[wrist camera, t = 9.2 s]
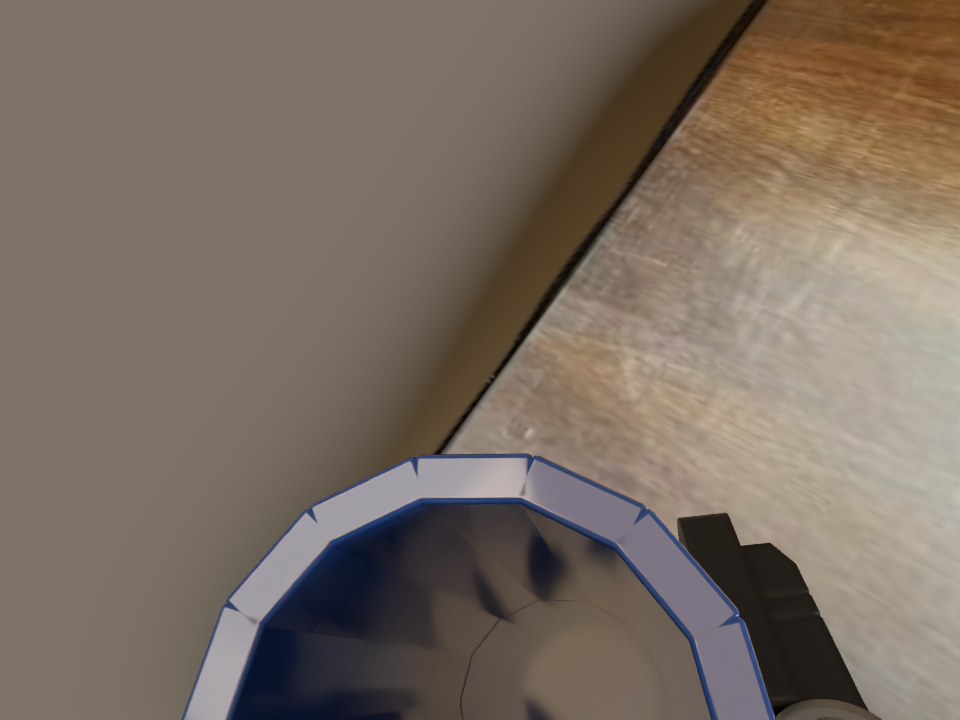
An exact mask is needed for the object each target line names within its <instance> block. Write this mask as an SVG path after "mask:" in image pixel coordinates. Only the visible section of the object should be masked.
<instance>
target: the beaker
mask: <svg viewBox="0 0 960 720" xmlns="http://www.w3.org/2000/svg"><path fill="white" fill-rule="evenodd" d="M227 603H228V604H225V605H224V606H223V607H222V609H221V611H220V614H219V617H218V620H217V622H216V625H215V628H214V631H213V633H212V636H211V639H210V642H209V645H208V647H207V650H206V653H205V656H204V659H203V661H202V664H201V667H200V669H199V672H198V675H197V678H196V680H195V683H194V686H193V689H192V691H191V694H190V697H189V700H188V702H187V705H186V708H185V711H184V713H183V716H182V719H181V720H776V719H775V715H774V712H773V709H772V706H771V703H770V699H769V696H768V693H767V690H766V687H765V684H764V680H763V677H762V674H761V671H760V668H759V664H758V661H757V658H756V655H755V652H754V649H753V645H752V642H751V639H750V636H749V633H748V630H747V626H746V623H745V622H744V620H743V619H742V618H740V617H739V616H740V613H739V611H738V609H737V608H736V606H735V605H734V604H733V603H732V602H731V601H730V599H729V598H728V597H727V596H726V595H725V594H724V593H723V591H722V590H721V589H720V588H719V587H718V586H717V584H716V583H715V582H714V581H713V580H712V579H711V578H710V576H709V575H708V574H707V573H706V572H705V571H704V569H703V568H702V567H701V566H700V565H699V564H698V562H697V561H696V560H695V559H694V558H693V557H692V556H691V554H690V553H689V552H688V551H687V550H686V549H685V547H684V546H683V545H682V544H681V543H680V542H679V540H678V539H677V538H676V537H675V536H674V535H673V534H672V532H671V531H670V530H669V529H668V528H667V527H666V525H665V524H664V523H663V522H662V521H661V520H660V518H659V517H658V516H657V515H656V514H655V513H654V512H653V511H652V510H650V509H647V510H646V506H645V505H644V504H643V503H641V502H638V501H636V500H634V499H632V498H630V497H628V496H625V495H623V494H621V493H619V492H617V491H614V490H612V489H610V488H608V487H606V486H604V485H601V484H599V483H597V482H595V481H593V480H591V479H588V478H586V477H584V476H582V475H580V474H578V473H575V472H573V471H571V470H569V469H567V468H565V467H562V466H560V465H558V464H556V463H554V462H551V461H549V460H547V459H545V458H543V457H541V456H534V457H532V455H530V454H527V453H525V454H443V455H420V456H417V457H416V458H415V457H410V458H408V459H406V460H404V461H402V462H400V463H397V464H395V465H393V466H391V467H389V468H387V469H385V470H383V471H381V472H379V473H376V474H375V475H372V476H370V477H368V478H366V479H364V480H362V481H360V482H358V483H356V484H353V485H351V486H349V487H347V488H345V489H343V490H341V491H339V492H337V493H335V494H333V495H331V496H329V497H326V498H324V499H322V500H320V501H318V502H316V503H314V504H313V505H311V506H310V509H306V510H305V511H303V512H302V514H301V515H300V516H299V517H298V518H297V519H296V520H295V522H294V523H293V524H292V525H291V526H290V527H289V528H288V529H287V531H286V532H285V533H284V534H283V535H282V536H281V538H280V539H279V540H278V541H277V542H276V543H275V544H274V545H273V547H272V548H271V549H270V550H269V551H268V552H267V553H266V555H265V556H264V557H263V558H262V559H261V560H260V562H259V563H258V564H257V565H256V566H255V567H254V568H253V569H252V571H251V572H250V573H249V574H248V575H247V576H246V578H245V579H244V580H243V581H242V582H241V583H240V584H239V585H238V586H237V588H236V589H235V590H234V591H233V592H232V593H231V595H230V596H229V597H228V599H227Z"/></svg>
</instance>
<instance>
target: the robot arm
mask: <svg viewBox="0 0 960 720" xmlns="http://www.w3.org/2000/svg"><path fill="white" fill-rule="evenodd" d="M677 525H678V536H679V542H680V543H681V544H682V545H683V546H684V547H685V549H686V550H687V551H688V552H689V553H690V554H691V556H692V557H693V558H694V559H695V560H696V561H697V562H698V564H699V565H700V566H701V567H702V568H703V569H704V571H705V572H706V573H707V574H708V575H709V576H710V578H711V579H712V580H713V581H714V582H715V583H716V584H717V586H718V587H719V588H720V589H721V590H722V591H723V593H724V594H725V595H726V596H727V597H728V598H729V599H730V601H731V602H732V603H733V604H734V605H735V606H736V608H737V609H738V611H739V613H740V616H739V617H740V618H742V619H743V620H744V622H745V623H746V626H747V630H748V633H749V636H750V639H751V642H752V645H753V649H754V652H755V655H756V658H757V661H758V664H759V668H760V671H761V674H762V677H763V680H764V684H765V687H766V690H767V693H768V696H769V699H770V703H771V706H772V709H773V712H774V715H775V719H776V720H882V719H880V718H879V717H877V716H876V715H874V714H873V713H871V712H869V710H868V708H867V707H866V705H865V703H864V702H863V700H862V698H861V696H860V694H859V692H858V690H857V687H856V685H855V683H854V681H853V679H852V677H851V675H850V673H849V671H848V669H847V667H846V665H845V663H844V661H843V659H842V657H841V655H840V653H839V651H838V649H837V647H836V645H835V643H834V641H833V639H832V636H831V634H830V632H829V630H828V628H827V626H826V624H825V622H824V620H823V618H821V617H820V613H819V610H818V608H817V606H816V604H815V602H814V600H813V598H812V596H811V595H810V594H809V590H808V588H807V586H806V583H805V581H804V579H803V577H802V575H801V573H800V571H799V569H798V567H797V565H796V563H794V562H793V561H792V560H791V559H789V558H788V557H787V556H786V555H784V554H783V553H782V552H781V551H780V550H778V549H777V548H776V547H775V546H773V545H772V544H771V543H763V544H754V545H744V546H741V545H740V543H739V540H738V538H737V535H736V533H735V530H734V528H733V525H732V523H731V520H730V518H729V516H728V514H727V513H720V514H710V515H701V516H692V517H683V518H678V519H677Z"/></svg>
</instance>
